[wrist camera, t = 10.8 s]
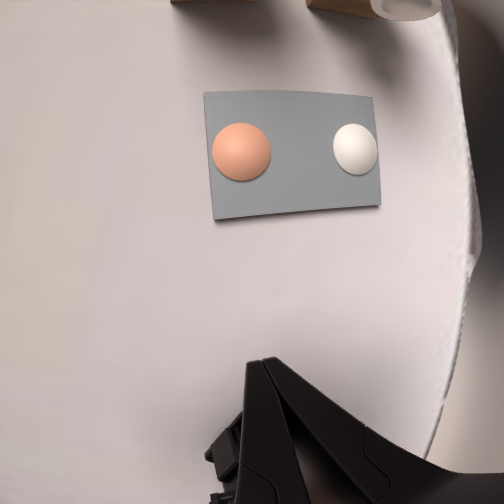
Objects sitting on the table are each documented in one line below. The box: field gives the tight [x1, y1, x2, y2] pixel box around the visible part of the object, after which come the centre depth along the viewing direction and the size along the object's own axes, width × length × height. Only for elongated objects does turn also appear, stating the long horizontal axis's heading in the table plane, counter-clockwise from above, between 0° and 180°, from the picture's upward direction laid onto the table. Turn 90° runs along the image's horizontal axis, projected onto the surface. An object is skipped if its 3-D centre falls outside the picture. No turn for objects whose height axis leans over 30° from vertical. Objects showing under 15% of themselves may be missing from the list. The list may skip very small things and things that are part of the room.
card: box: [204, 91, 381, 220], centre depth 20 cm, size 8×12×1 cm, turn 95°
